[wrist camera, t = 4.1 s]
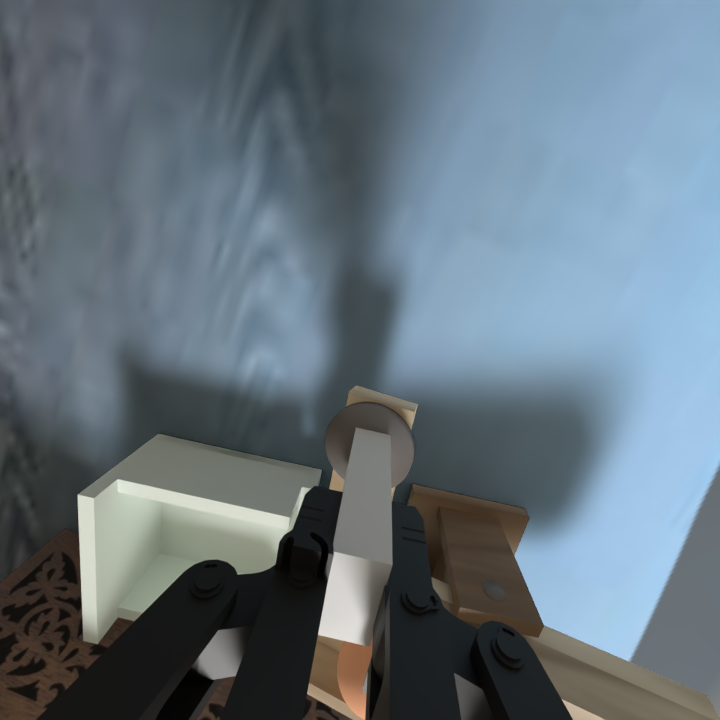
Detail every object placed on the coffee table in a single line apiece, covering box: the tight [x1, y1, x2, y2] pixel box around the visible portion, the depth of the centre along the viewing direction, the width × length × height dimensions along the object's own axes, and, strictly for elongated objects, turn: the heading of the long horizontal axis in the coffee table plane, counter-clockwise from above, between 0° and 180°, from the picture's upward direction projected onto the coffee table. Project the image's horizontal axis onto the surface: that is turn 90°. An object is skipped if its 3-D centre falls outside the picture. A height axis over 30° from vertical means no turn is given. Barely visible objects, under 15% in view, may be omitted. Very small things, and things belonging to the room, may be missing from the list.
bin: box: [78, 434, 322, 644], centre depth 21 cm, size 10×11×6 cm
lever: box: [307, 385, 720, 720], centre depth 15 cm, size 16×18×3 cm
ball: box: [337, 636, 373, 720], centre depth 16 cm, size 4×4×4 cm
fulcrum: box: [407, 484, 544, 638], centre depth 20 cm, size 10×7×7 cm
